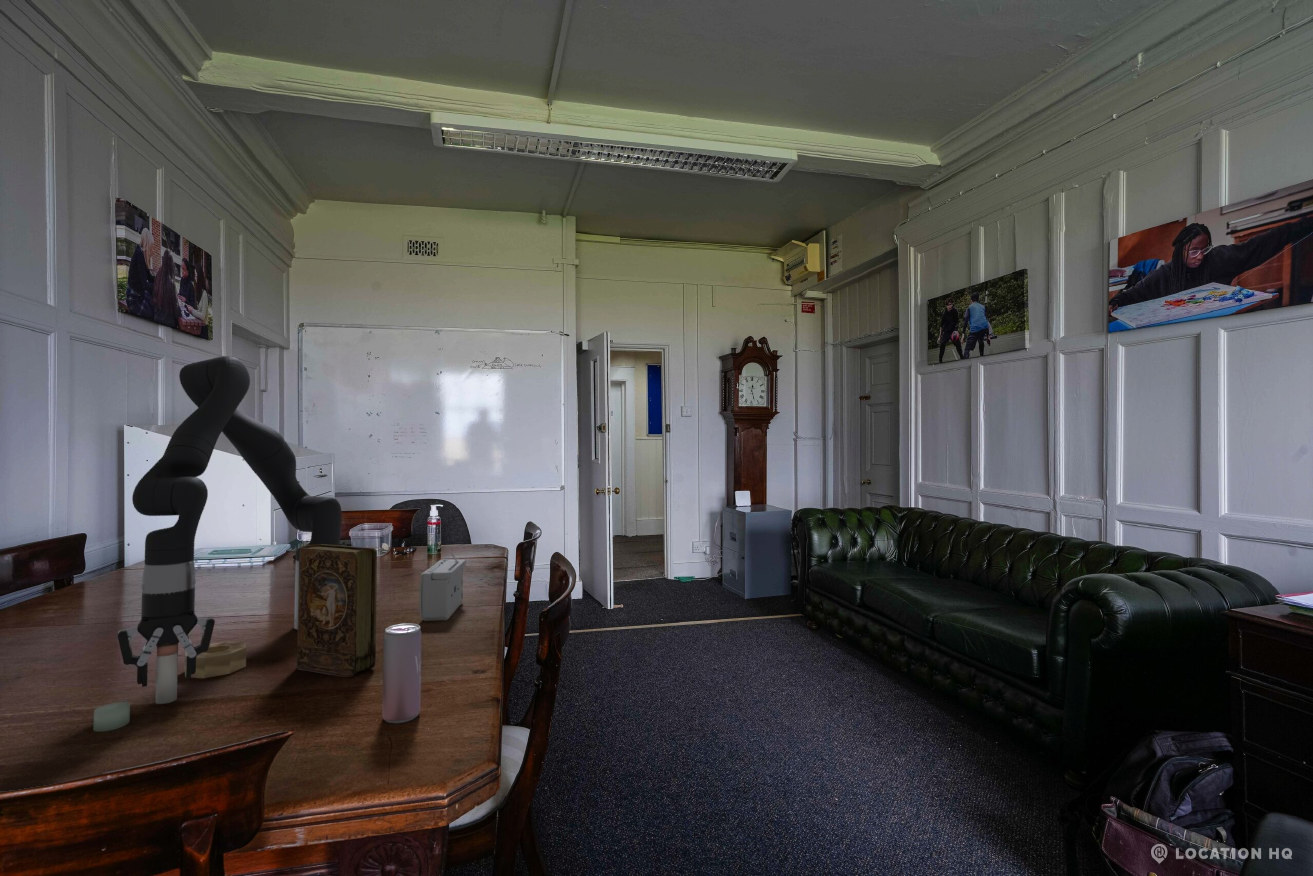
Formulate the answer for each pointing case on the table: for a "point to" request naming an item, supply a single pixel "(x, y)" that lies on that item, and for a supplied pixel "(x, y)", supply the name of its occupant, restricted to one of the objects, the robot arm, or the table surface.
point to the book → (337, 609)
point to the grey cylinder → (166, 673)
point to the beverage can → (401, 673)
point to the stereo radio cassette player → (441, 589)
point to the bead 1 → (111, 716)
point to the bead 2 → (220, 659)
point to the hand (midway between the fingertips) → (166, 681)
